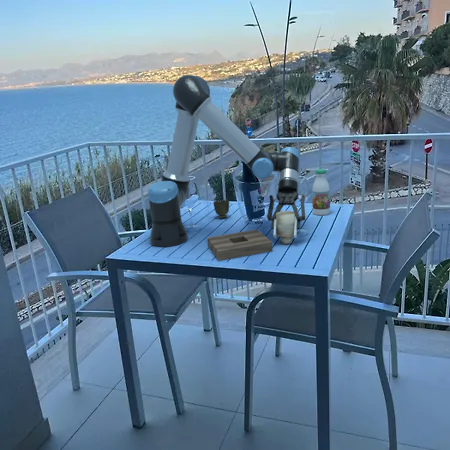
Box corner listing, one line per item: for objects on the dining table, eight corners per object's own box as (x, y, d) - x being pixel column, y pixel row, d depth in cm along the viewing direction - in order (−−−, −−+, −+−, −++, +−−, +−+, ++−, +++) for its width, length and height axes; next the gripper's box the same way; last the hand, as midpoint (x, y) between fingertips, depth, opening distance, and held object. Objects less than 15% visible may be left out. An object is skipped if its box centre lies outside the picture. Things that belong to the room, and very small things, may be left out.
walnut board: (208, 246, 156) (207, 237, 155) (257, 237, 161) (256, 229, 160) (218, 260, 141) (217, 251, 140) (272, 251, 146) (272, 241, 145)
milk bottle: (310, 212, 188) (309, 169, 182) (325, 210, 189) (325, 167, 183) (316, 216, 181) (315, 172, 175) (332, 214, 182) (332, 170, 176)
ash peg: (274, 240, 156) (273, 212, 152) (291, 237, 157) (290, 209, 154) (281, 246, 149) (280, 217, 146) (298, 243, 151) (297, 214, 147)
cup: (228, 220, 187) (227, 203, 184) (213, 220, 188) (211, 203, 186) (231, 215, 194) (230, 198, 191) (216, 215, 195) (215, 199, 193)
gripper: (314, 187, 160) (312, 241, 150) (264, 189, 165) (260, 240, 155) (313, 177, 153) (311, 232, 143) (261, 178, 158) (256, 232, 148)
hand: (285, 236), depth 149 cm, fingers closed on ash peg, 7 cm apart
